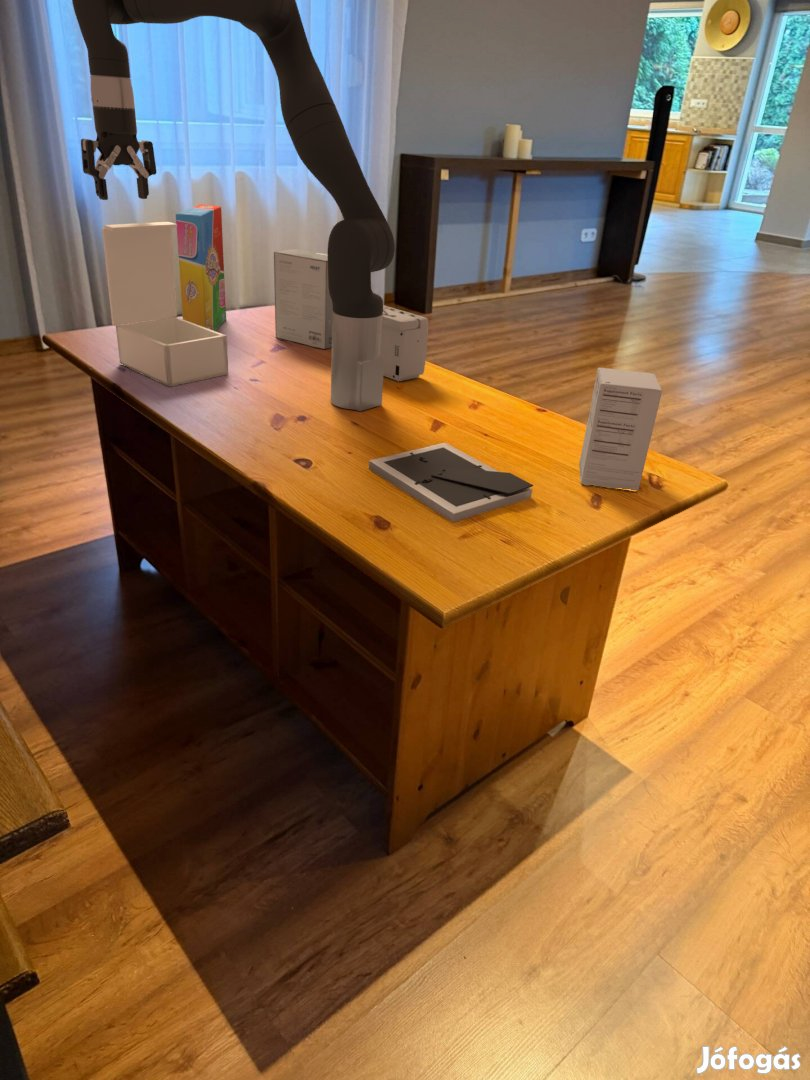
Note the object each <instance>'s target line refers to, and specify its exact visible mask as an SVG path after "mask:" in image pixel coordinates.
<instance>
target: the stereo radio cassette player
mask: <svg viewBox="0 0 810 1080" xmlns="http://www.w3.org/2000/svg"><path fill="white" fill-rule="evenodd" d="M428 336H429V319H428V318H427V317H425V316H422V315H418V314H415V313H412V312H408V311H405V310H401V309H397V308H395V307H392V306H387V305H384V304H383V319H382V337H381V356H383V357H384V375H383V377H386V378H388V379H391V380H394V381H398V382H399V381H400V382H402V381H407V380H411V379H417V378H419V377H420V376H422V375H424V373H425V367H426V361H427V351H428V338H429V337H428ZM398 382H397V383H398ZM400 382H399V383H400Z"/></svg>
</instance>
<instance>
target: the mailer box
mask: <svg viewBox="0 0 810 1080" xmlns="http://www.w3.org/2000/svg"><path fill="white" fill-rule="evenodd" d="M115 332H116V340H117V349H118V358H119V364H120V363H121V364H123V365H125V366H127V367H129V368H131V369H133V370H135V371H134V372H136V371H137V372H136V373H138V372H139V373H138V374H140V373H142V374H144V375H146V376H148V377H147V378H149V377H150V378H149V379H151V378H152V379H151V380H153V379H154V380H153V381H155V380H157V381H159V382H160V383H159V382H158V383H159V384H161V383H163V384H162V385H164V384H165V385H164V386H166V385H167V386H166V387H168V386H172V387H175V386H174V385H176V386H180V385H179V384H181V385H184V384H185V383H186V384H190V383H194V382H199V381H203V380H208V379H212V378H217V377H221V376H225V375H229V360H228V358H229V357H228V355H229V354H228V339H227V337H228V336H227V335H226V334H223V333H220V332H218V331H217V330H215V331H213V330H210V329H208V328H205V327H202V326H199V325H197V324H194V323H191V322H189V321H186V320H183V318H180V317H177V316H176V317H169V318H162V319H156V320H149V321H142V322H135V323H129V324H122V325H115ZM123 365H122V366H123ZM125 366H124V367H125ZM127 367H126V368H127ZM129 368H128V369H129ZM131 369H130V370H131ZM133 370H132V371H133ZM142 374H141V375H142ZM144 375H143V376H144ZM146 376H145V377H146ZM157 381H156V382H157Z"/></svg>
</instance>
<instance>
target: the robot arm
mask: <svg viewBox="0 0 810 1080" xmlns="http://www.w3.org/2000/svg"><path fill="white" fill-rule="evenodd" d="M71 2H72V7H73V11H74V14H75V17H76V21H77V23H78V26H79V29H80V33H81V36H82V38H83V40H84V44H85V47H86V50H87V58H88V59H87V60H88V61H87V62H88V69H89V74H90V76H89V77H90V78H89V79H90V97H91V98H90V99H91V100H90V101H91V105H92V112H93V120H94V121H93V122H94V130H95V133H96V139H95V140H93V139H87V138H82V139H80V147H81V148H80V149H81V150H80V151H81V162H82V163H81V164H82V171H83V173H84V174H85V175H89V176H91V177H92V178H93V179H94V187H95V194H96V196H97V197H98V198H99V199H100V200H103V201H108V199H109V196H108V194H109V193H108V188H107V179H105V177H106V175H107V173H108V171H110V170H111V168H112V166H122V165H124V166H129V167H130V169H132V170H133V171H134V173H135V174H136V176H137V177H136V186H137V187H136V188H137V197H138V198H139V199H141V200H147V199H148V196H149V194H150V190H149V180H148V179H149V177H151V176H154V175H155V176H156V174H157V165H156V158H155V152H154V143H153V142H152V141H149V140H141V141H138V137H137V133H138V127H137V118H136V105H135V97H134V91H133V90H134V89H133V86H132V81H131V72H130V61H129V60H130V59H129V52H128V49H127V45H125V43H124V42H122V41H121V40H119V39H117V37H116V35H115V33H114V31H113V27H112V25H133V24H140V23H142V24H159V25H161V24H162V25H165V24H166V25H169V24H179V23H184V22H188V21H190V20H192V19H196V18H200V17H214V18H221V19H225V20H226V19H227V20H230V21H234V22H237V23H239V24H241V25H242V26H243V27H244V28H246V29H247V30H249V31H252V32H253V33H255V34H256V36H257V37H258V38H259V40H260V41H261V43H262V45H263V47H264V48H265V50H266V53H267V55H268V57H269V59H270V61H271V63H272V66H273V68H274V71H275V73H276V77H277V82H278V89H279V100H280V101H279V103H280V109H281V114H282V115H281V116H282V119H283V122H284V125H285V127H286V130H287V132H288V133H287V134H288V135H289V137H290V140H291V142H292V144H293V147H294V149H295V151H296V153H297V155H298V157H299V159H300V161H301V162H302V163H303V164H304V166H305V168H306V169H307V170H308V171H309V172H310V173H311V175H313V177H314V178H315V179H316V180H317V181H318V182H319V183H320V184H321V186H323V188H325V190H327V192H328V194H330V196H331V197H332V198H333V200H334V202H335V203H336V205H337V206H338V209H339V211H340V213H341V215H342V217H343V219H342V220H340V221H338V222H336V224H335V225H334V226H332V228H331V231H330V234H329V236H328V241H327V255H328V288H329V294H330V297H331V300H332V304H333V315H332V347H331V358H330V359H331V361H330V362H331V365H330V366H331V367H330V368H331V369H330V402H331V404H332V405H334V406H335V407H337V408H342V409H347V410H355V411H358V412H363V411H366V410H369V409H373V408H375V407H380V406H382V405H383V393H384V391H383V388H384V376H383V375H384V357H383V356H381V337H382V319H383V305H384V299H383V298H382V297H381V296H380V295H379V294H377V293H374V292H373V290H372V273H374V272H375V273H376V272H379V271H382V270H384V269H387V268H388V267H389V266H390V265H391V263H392V261H393V259H394V257H395V251H396V245H395V244H396V243H395V239H394V238H395V237H394V235H393V232H392V229H391V226H390V225H389V222H388V220H387V219H386V217H385V215H384V212H383V211H382V209H381V206H380V205H379V203H378V202H377V200H376V198H375V196H374V194H373V192H372V190H371V188H370V186H369V184H368V182H367V180H366V177H365V176H364V173H363V170H362V168H361V165H360V162H359V161H358V158H357V156H356V154H355V152H354V149H353V147H352V145H351V142H350V140H349V137H348V135H347V132H346V129H345V126H344V123H343V121H342V118H341V116H340V114H339V111H338V109H337V106H336V104H335V101H334V100H333V98H332V95H331V93H330V90H329V88H328V86H327V83H326V81H325V79H324V76H323V74H322V72H321V70H320V67H319V66H318V63H317V61H316V59H315V57H314V55H313V52H312V50H311V47H310V43H309V40H308V38H307V34H306V30H305V27H304V25H303V24H304V23H303V21H302V17H301V13H300V11H299V6H298V4H297V2H296V0H71ZM97 150H98V151H99V153H100V154H99V155H98V158H97V160H96V159H95V153H96V151H97ZM139 151H140V153H141V156H142V161H141V159H140V157H139V156H138V155H137V154H138V153H139Z"/></svg>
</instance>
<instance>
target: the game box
mask: <svg viewBox="0 0 810 1080" xmlns="http://www.w3.org/2000/svg"><path fill="white" fill-rule="evenodd" d="M175 224H177V227H176V239H177V240H176V241H177V252H178V254H177V255H178V269H179V282H180V284H179V285H180V297H181V313H182V314H181V315H182V319H183V320H186V321H189V322H191V323H194V324H197V325H199V326H202V327H205V328H208V329H210V330H213V331H217V330H218V329H219V328H220V327H221V326H220V325H221V324H222V323H223V322H224V321H225V320H227V308H226V307H227V306H226V287H225V286H226V284H225V263H224V243H223V241H224V240H223V217H222V206H221V205H212V204H210V205H209V204H198V205H196V206H193V207H191V208H189V209H186V210H184V211H183V210H182V211H180V212H177V213H176V212H175ZM225 322H226V321H225ZM225 322H224V323H225ZM224 323H223V324H224ZM219 326H220V327H219ZM218 327H219V328H218ZM217 328H218V329H217Z"/></svg>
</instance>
